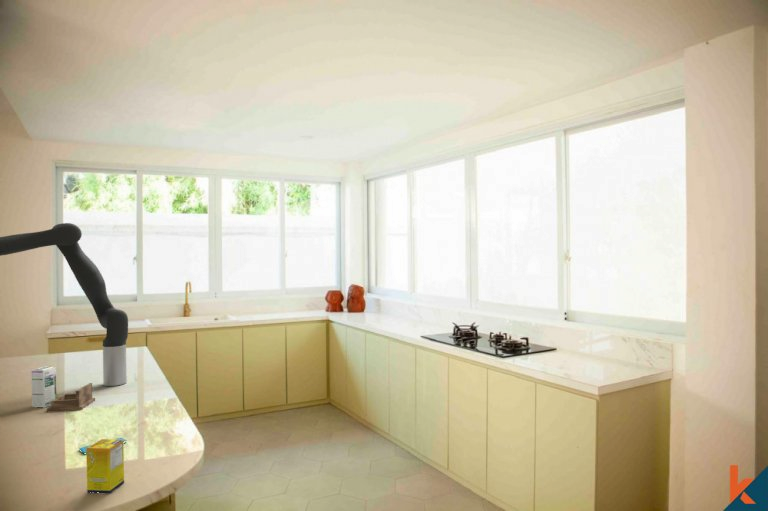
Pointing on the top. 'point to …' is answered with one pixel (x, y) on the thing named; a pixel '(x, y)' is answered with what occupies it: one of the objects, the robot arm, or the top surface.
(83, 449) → the sponge
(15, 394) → the top surface
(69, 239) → the robot arm
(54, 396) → the syrup box
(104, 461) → the supplement box
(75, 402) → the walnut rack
